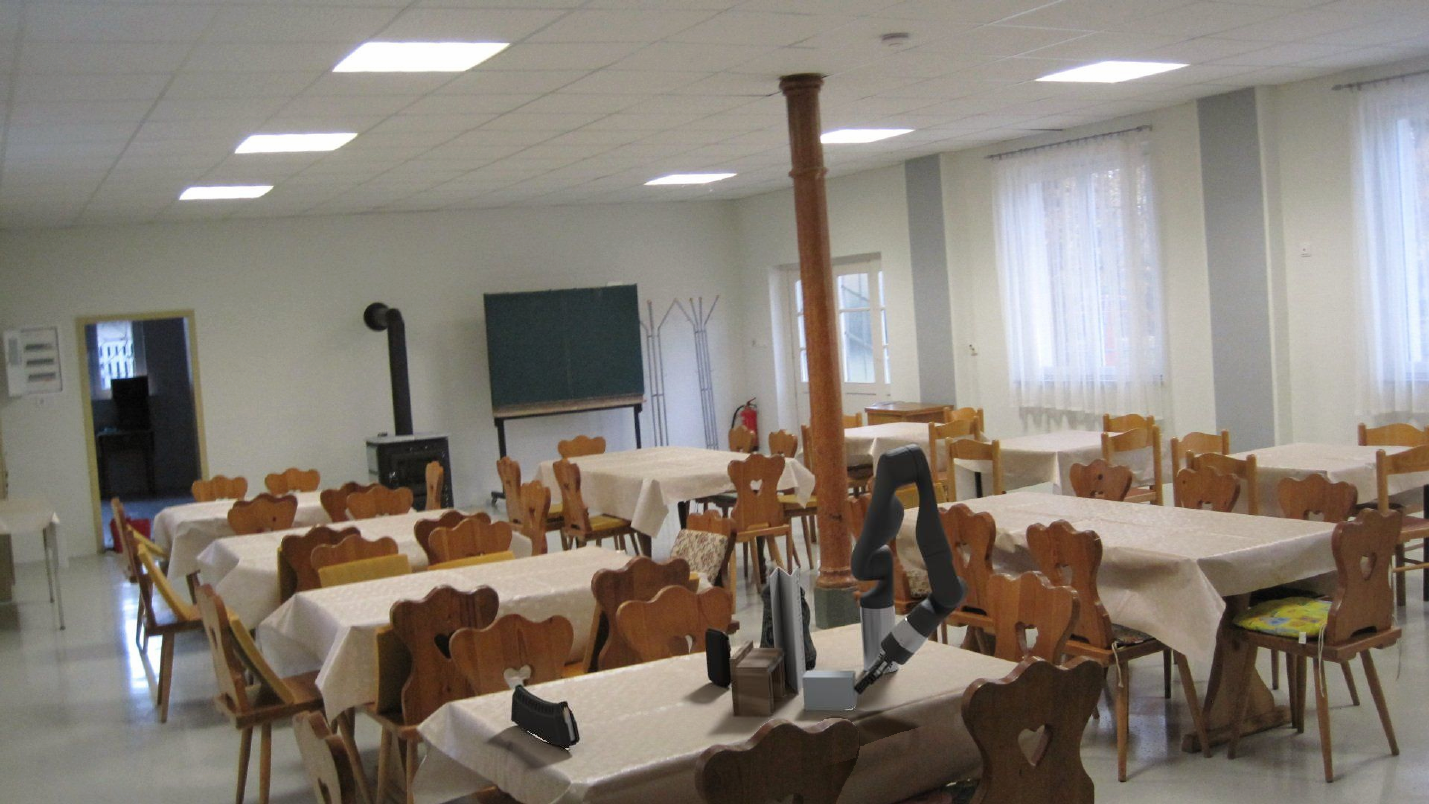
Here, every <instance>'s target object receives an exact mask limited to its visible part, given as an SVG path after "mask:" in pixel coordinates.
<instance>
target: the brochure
mask: <svg viewBox="0 0 1429 804" xmlns="http://www.w3.org/2000/svg"><path fill="white" fill-rule="evenodd" d="M799 567H800V566H799V565H796V566H795V569H794V570H793V572H792V573H791V574H789V573H788V572H786V571H785V570H784V569H783V568H781V567H780V566H779V565H777V567H776V568H775V569H774V570H773V572H772V573H771V574H770V576H769V584H770V592H771V606H772V621H773V635H774V648H782V649H783V652H785V656H784V657H783V664H784V678H785V681H786V680H787V682H788V683H789V684H790V686H791V687H792V688H793V689H794V691H795V692H796V693H797V694H798V695H799V694H800V692H801V690H802V689H803V681H802V677H803V676H804V674H805V673H806V671H807V670H806V669H805V655H804V640H803V625H802V611H801V596H800V586H801V584H800V570H799V569H800V568H799Z"/></svg>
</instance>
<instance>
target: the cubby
mask: <svg viewBox="0 0 1429 804" xmlns="http://www.w3.org/2000/svg"><path fill="white" fill-rule="evenodd" d="M784 656H785V652H783V649H782V648H759V647H754V640H753V639H746V641H745V642H744V643H743V644H742V645H741V646H740V647H739V648H738V649H737V650H736V651H735V653H733V654H732V655H731V658H730V659H729V660H730V674H731V684H730V687H731V699H732V700H731V702H732V713H733V717H757V718H758V717H763V718H764V717H766V718H767V717H768V718H770V717H771V716H772V714H773V713H774V711H775V709H774V708H775V707H774V701H778V700H779V701H782V700H783V699H784V697H785V696H786V683H785V682H786V680H785V678H784V664H783V657H784Z"/></svg>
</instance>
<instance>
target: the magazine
mask: <svg viewBox="0 0 1429 804" xmlns="http://www.w3.org/2000/svg"><path fill="white" fill-rule="evenodd" d="M510 712H511V714H510V716H511V717H510V721H511V723H512V722H513V723H514V724H515V725H517V726H518V727H519V728H521V729H522V728H523V729H524V730H526V731H529V732H530V733H532V734H535V735H537V736H538V737H540V738H542V739H543V740H546V741H547V742H549V743H551V744H550V745H553V744H554V746H558V745H559V747H563V748H564V749H565V748H570V749H571V747H572V746H576V745H577V743H579V741H580V740H581V738H580V732H579V728H578V723H577V721H576V718H575V715H574V713H573V711H572V710H571V708H570V707H569V704H568V700H563V701H560V702H551V701H548V700H545V699H543V698H540V697H539V696H537V695H534V694H533V693H531V692H530V691H528V690H527V689H526V688H525V687H524V685H523V684H521V683H518V684H517V685H515V687H514V691H513V693H512V696H511V711H510ZM523 729H522V730H523ZM524 730H523V731H524ZM526 731H525V732H526Z"/></svg>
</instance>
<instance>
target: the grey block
mask: <svg viewBox="0 0 1429 804" xmlns="http://www.w3.org/2000/svg"><path fill="white" fill-rule="evenodd" d="M802 681H803V686H802V691H803V693H802V694H803V707H804V711H846V710H845V709H852V708H854V707H855V705H856V703H857V704H858V693H857V692H856V691H855V690H854V687H855V686H856V685H857V678H856V670H806V673H805V674H804V676H803V677H802ZM856 706H857V705H856ZM855 708H856V707H855Z"/></svg>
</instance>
